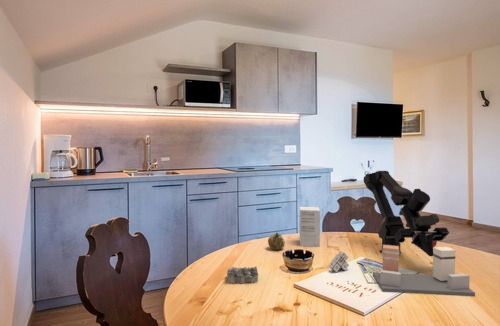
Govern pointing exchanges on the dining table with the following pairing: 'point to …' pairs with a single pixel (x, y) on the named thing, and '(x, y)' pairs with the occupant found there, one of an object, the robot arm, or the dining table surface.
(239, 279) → the egg carton
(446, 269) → the white tall rectangular block
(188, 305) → the dining table surface
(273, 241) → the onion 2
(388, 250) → the salmon pink block
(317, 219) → the supplement box
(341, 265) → the building blocks
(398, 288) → the grey base plate
